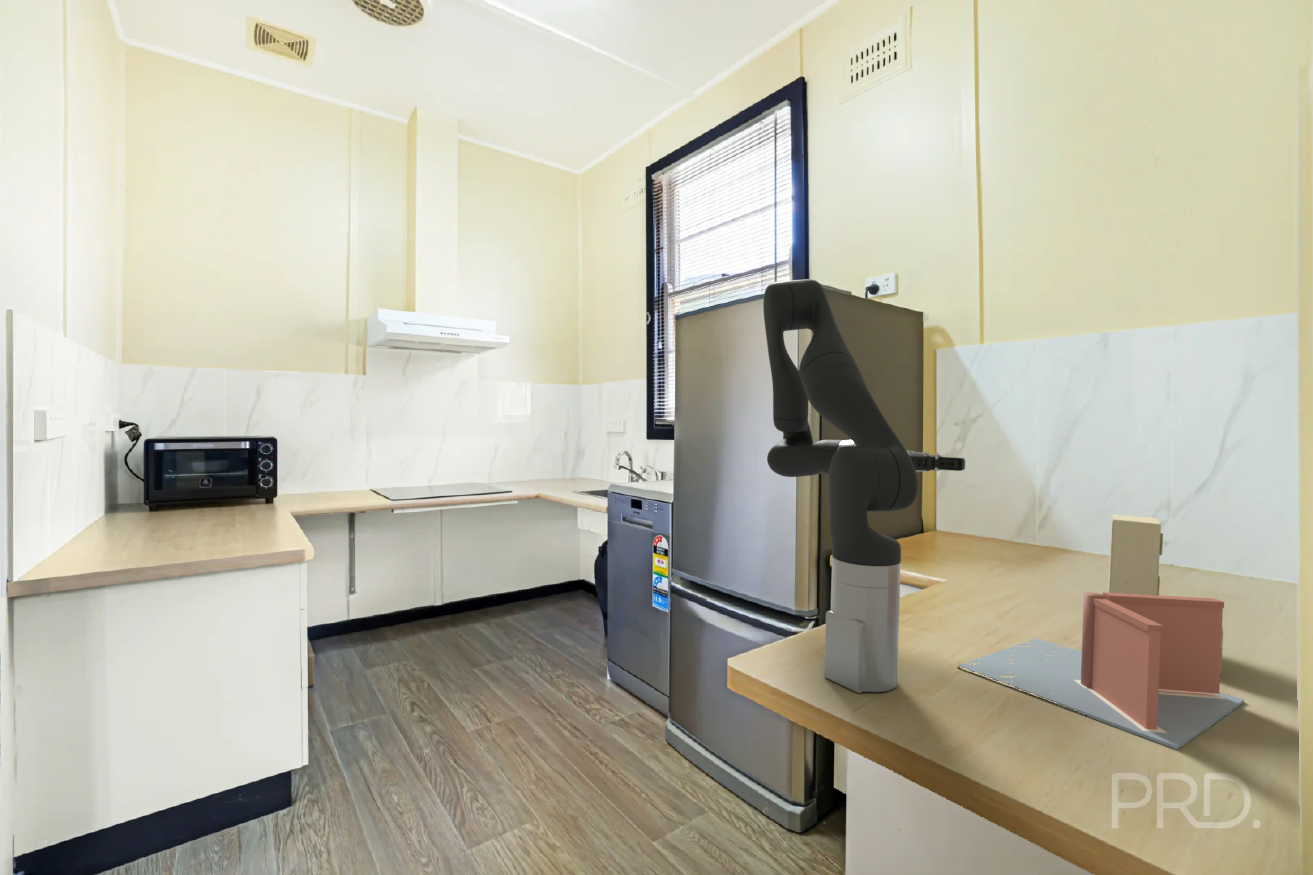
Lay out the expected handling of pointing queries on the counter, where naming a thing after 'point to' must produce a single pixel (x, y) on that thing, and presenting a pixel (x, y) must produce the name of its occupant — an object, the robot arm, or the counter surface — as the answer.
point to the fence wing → (1183, 638)
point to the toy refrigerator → (1135, 555)
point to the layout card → (1042, 677)
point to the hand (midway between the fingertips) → (963, 464)
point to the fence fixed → (1121, 658)
